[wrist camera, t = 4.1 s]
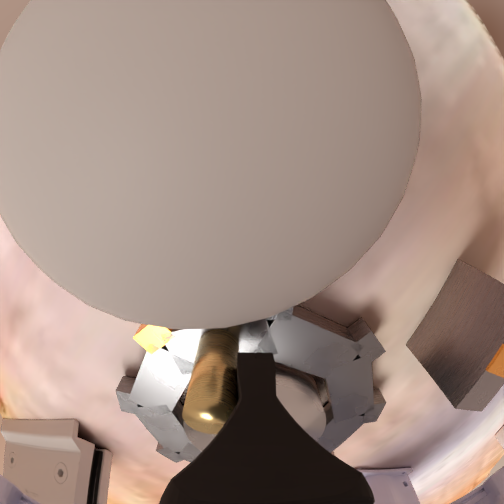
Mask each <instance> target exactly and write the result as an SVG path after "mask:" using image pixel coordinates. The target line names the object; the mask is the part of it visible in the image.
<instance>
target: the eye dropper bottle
mask: <svg viewBox="0 0 504 504" xmlns="http://www.w3.org/2000/svg"><path fill="white" fill-rule="evenodd" d="M495 437H496V439H497V440H498V442H499V443H500V445H501V446H502V448H503V449H504V426H503V427H502V428H501V429H500V430H499V431H498V432H497V433H496V435H495Z"/></svg>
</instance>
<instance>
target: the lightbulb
mask: <svg viewBox="0 0 504 504" xmlns="http://www.w3.org/2000/svg"><path fill="white" fill-rule="evenodd" d="M420 122H421V93H420V87H419V81H418V75H417V70H416V65H415V60H414V57H413V54H412V52H411V49H410V47H409V44H408V42H407V40H406V37H405V35H404V33H403V31H402V28H401V26H400V24H399V22H398V20H397V18H396V17H395V15H394V13H393V11H392V9H391V8H390V6H389V4H388V3H387V2H386V0H31V1H30V2H29V3H28V4H27V6H26V7H25V8H24V10H23V11H22V13H21V14H20V16H19V17H18V19H17V20H16V22H15V23H14V25H13V27H12V28H11V30H10V31H9V33H8V35H7V38H6V39H5V42H4V44H3V46H2V48H1V50H0V215H1V217H2V219H3V221H4V223H5V224H6V226H7V228H8V230H9V231H10V233H11V235H12V236H13V238H14V240H15V241H16V243H17V244H18V245H19V247H20V248H21V249H22V250H23V251H24V252H25V253H26V255H27V256H28V257H29V258H30V259H31V260H32V261H33V262H34V263H35V264H36V265H37V267H38V268H39V269H40V270H41V271H42V272H43V273H45V274H46V275H47V276H48V277H49V278H50V279H51V280H52V281H54V282H55V283H56V284H57V285H59V286H60V287H62V288H63V289H64V290H66V291H67V292H69V293H70V294H72V295H73V296H75V297H76V298H78V299H79V300H81V301H82V302H84V303H85V304H87V305H89V306H91V307H93V308H96V309H98V310H100V311H103V312H105V313H108V314H110V315H113V316H115V317H118V318H120V319H123V320H125V321H130V322H135V323H140V324H146V325H151V326H157V327H163V328H169V329H211V328H227V327H231V326H236V325H240V324H244V323H248V322H252V321H257V320H261V319H265V318H269V317H271V316H274V315H276V314H278V313H280V312H282V311H285V310H287V309H289V308H291V307H293V306H295V305H298V304H300V303H302V302H304V301H306V300H308V299H310V298H312V297H314V296H315V295H317V294H318V293H319V292H321V291H322V290H323V289H325V288H326V287H328V286H329V285H330V284H332V283H333V282H334V281H336V280H337V279H338V278H340V277H341V276H343V275H344V274H345V273H347V272H348V271H349V270H350V269H351V268H352V267H353V266H354V265H355V264H356V263H357V262H358V261H359V260H360V258H361V257H362V256H363V255H364V254H365V253H366V252H367V251H368V250H369V248H370V247H371V246H372V245H373V244H374V243H375V242H376V241H377V239H378V238H379V237H380V236H381V235H382V233H383V231H384V230H385V228H386V226H387V225H388V223H389V221H390V219H391V218H392V216H393V214H394V212H395V211H396V209H397V207H398V205H399V203H400V202H401V200H402V198H403V196H404V193H405V190H406V187H407V184H408V181H409V178H410V175H411V171H412V168H413V165H414V161H415V158H416V154H417V150H418V145H419V137H420Z"/></svg>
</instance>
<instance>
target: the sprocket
mask: <svg viewBox="0 0 504 504" xmlns="http://www.w3.org/2000/svg"><path fill="white" fill-rule="evenodd" d="M133 338H134V339H135V340H136V341H137V342H138V343H139V344H140V345H141V346H142V347H143V348H144V349H145V350H146V351H147V352H146V354H145V357H144V359H143V362H142V364H141V367H140V369H139V372H138V375H137V377H136V378H131V377H126V376H123V377H122V379H121V381H120V383H119V385H118V387H117V389H116V394H117V398H118V401H119V404H120V408H121V411H124V412H128V413H133V414H135V415H136V416H137V417H138V418H139V420H140V421H141V422H142V423H143V424H144V426H145V427H146V428H147V429H148V430H149V432H150V433H151V434H152V435H153V436H154V437H155V439H156V440H157V441H158V445H157V449H156V451H157V452H159V453H160V454H162V455H164V456H165V457H167V458H169V459H170V460H172V461H174V462H179V461H182V460H186V461H189V462H192V461H193V460H194V459H195V458H196V457H197V456H198V455H199V454H200V453H201V451H200V450H199V449H197V448H196V447H195V446H194V445H193V444H192V443H191V442H190V440H189V439H188V438H187V436H186V434H185V430H184V421H185V423H186V424H187V425H188V426H189V427H191V428H192V429H194V430H196V431H199V432H202V433H206V434H218V432H219V431H220V430H221V428H222V427H223V425H224V424H225V423H226V421H227V420H228V418H229V416H230V415H231V413H232V412H233V410H234V408H235V406H236V405H237V403H238V393H237V354H238V352H244V353H273V356H274V360H275V361H276V362H278V363H281V364H284V365H286V366H289V367H292V368H295V369H298V370H301V371H303V372H306V373H309V374H312V375H315V376H318V377H321V378H324V382H325V386H326V391H327V396H328V400H329V403H328V404H327V405H326V406H325V407H324V412H325V415H326V426H325V430H324V432H323V434H322V436H321V437H320V438H319V440H318V441H317V442H318V443H319V444H320V445H321V446H323V447H324V448H325V449H326V450H327V451H329V452H330V453H332V454H333V455H334V452H333V450H335V449H336V448H337V447H338V446H339V445H340V444H342V443H343V442H344V441H345V440H346V439H347V438H348V437H350V436H351V435H352V434H353V433H354V432H355V431H356V430H357V429H358V428H359V427H360V426H362V425H363V424H364V423H369V422H375V421H377V419H378V417H379V415H380V414H381V412H382V410H383V408H384V406H385V404H386V401H385V399H384V397H383V396H382V394H381V392H380V390H379V389H373V377H372V361H374V360H375V359H376V358H378V357H379V356H380V355H382V354H383V353H384V352H386V351H385V350H384V348H383V347H382V345H381V344H380V342H379V341H378V340H377V338H376V337H375V335H374V334H373V332H372V331H371V330H370V328H369V327H368V325H367V324H366V323H365V321H364V320H363V319H362V317H361V318H360V319H359V320H357V321H356V322H355V323H353V324H352V325H351V326H349V327H348V328H346V327H344V326H342V325H340V324H337V323H335V322H333V321H331V320H329V319H326V318H324V317H322V316H320V315H318V314H315V313H313V312H311V311H309V310H307V309H304V308H302V307H300V306H298V305H295V306H293V307H291V308H289V309H287V310H285V311H282V312H280V313H278V314H276V315H274V316H271V317H269V318H265V319H261V320H257V321H252V322H248V323H244V324H240V325H236V326H231V327H227V328H211V329H169V328H163V327H157V326H151V325H146V324H141V326H140V327H139V329H138V330H137V332H136V334H135V335H134V337H133ZM189 381H190V382H189ZM188 382H189V386H188V390H187V395H186V399H185V403H184V407H183V406H182V404H181V403H180V401H179V398H180V396H181V395H182V393H183V391H184V389H185V388H186V386H187V384H188Z"/></svg>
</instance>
